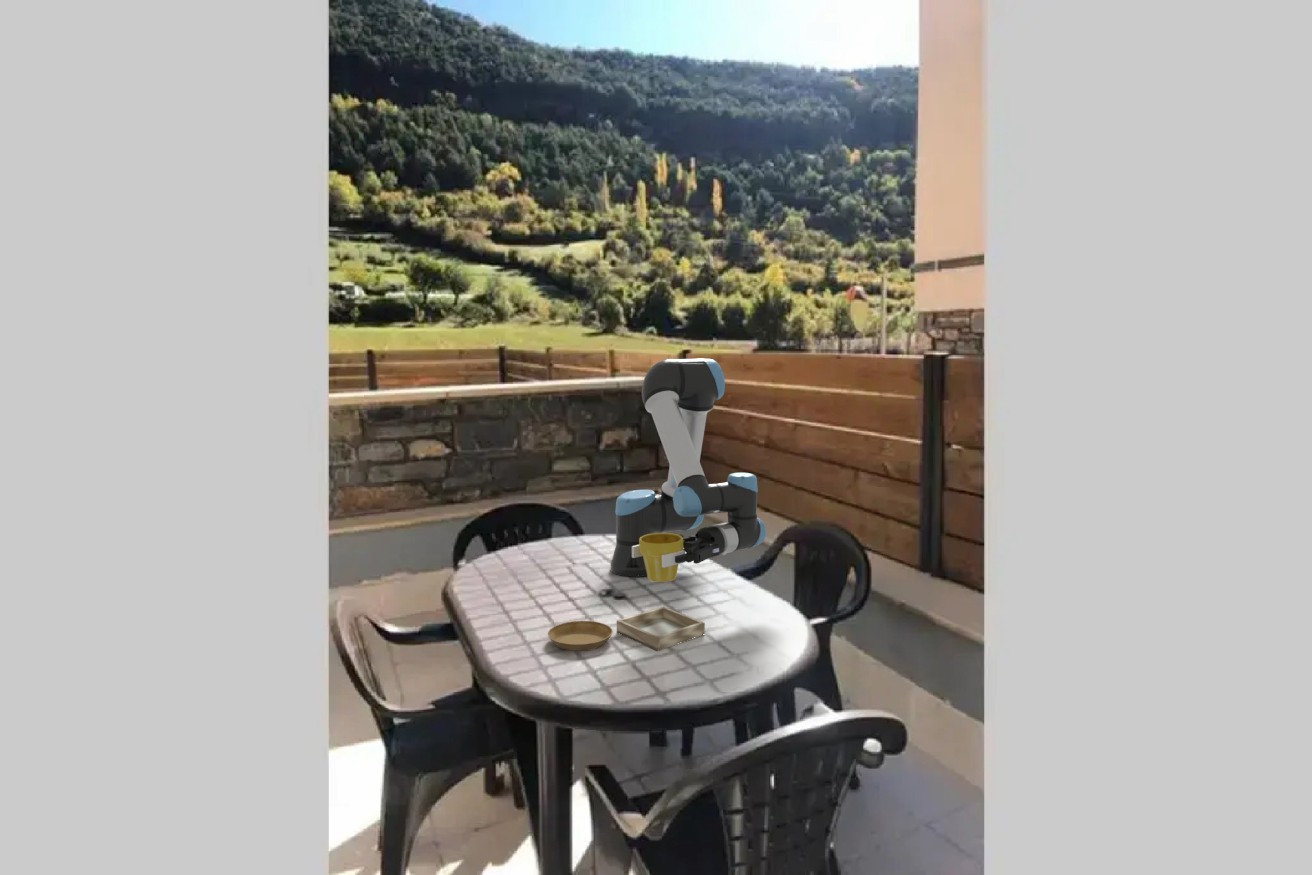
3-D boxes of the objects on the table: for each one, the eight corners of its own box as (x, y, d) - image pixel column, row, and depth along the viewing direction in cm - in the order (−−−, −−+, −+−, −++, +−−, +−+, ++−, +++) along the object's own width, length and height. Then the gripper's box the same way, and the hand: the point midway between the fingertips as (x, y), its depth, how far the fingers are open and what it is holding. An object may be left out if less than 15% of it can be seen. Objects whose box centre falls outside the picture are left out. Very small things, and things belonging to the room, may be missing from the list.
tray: (663, 618, 198) (663, 606, 197) (704, 634, 187) (704, 622, 186) (616, 632, 188) (616, 620, 188) (656, 651, 177) (656, 638, 177)
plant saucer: (553, 630, 191) (553, 619, 190) (615, 631, 190) (615, 620, 190) (542, 655, 176) (542, 643, 176) (609, 655, 175) (609, 644, 175)
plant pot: (635, 584, 184) (635, 542, 183) (643, 571, 194) (643, 531, 193) (680, 585, 182) (680, 544, 181) (685, 572, 193) (685, 533, 191)
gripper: (749, 564, 191) (680, 583, 177) (684, 546, 208) (617, 562, 194) (749, 533, 190) (680, 550, 176) (684, 518, 207) (617, 532, 193)
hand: (647, 556), depth 185 cm, fingers closed on plant pot, 10 cm apart
